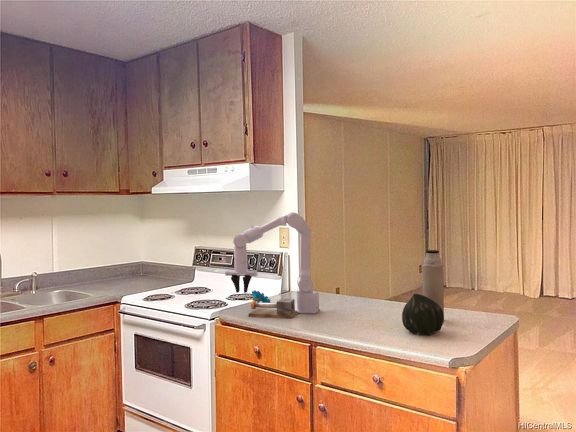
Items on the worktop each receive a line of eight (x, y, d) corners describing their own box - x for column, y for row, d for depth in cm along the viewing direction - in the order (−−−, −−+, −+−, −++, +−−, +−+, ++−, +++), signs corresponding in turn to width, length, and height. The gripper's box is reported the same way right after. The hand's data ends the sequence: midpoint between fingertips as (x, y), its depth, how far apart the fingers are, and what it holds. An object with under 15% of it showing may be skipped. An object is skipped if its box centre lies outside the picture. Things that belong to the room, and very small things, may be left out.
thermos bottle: (425, 317, 194) (424, 249, 192) (446, 319, 189) (445, 249, 188) (420, 321, 187) (419, 251, 186) (441, 323, 183) (440, 251, 182)
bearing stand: (297, 313, 205) (297, 298, 205) (292, 318, 197) (291, 302, 197) (255, 311, 211) (255, 297, 211) (248, 316, 202) (247, 301, 202)
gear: (275, 302, 222) (261, 289, 218) (268, 312, 219) (254, 299, 215) (261, 301, 230) (248, 289, 227) (255, 311, 228) (241, 299, 224)
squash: (457, 317, 171) (430, 284, 177) (440, 328, 160) (411, 292, 165) (430, 337, 178) (405, 305, 184) (412, 349, 167) (386, 314, 173)
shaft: (282, 309, 204) (282, 300, 204) (280, 311, 201) (280, 302, 201) (253, 307, 208) (253, 299, 208) (251, 309, 205) (250, 301, 204)
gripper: (221, 262, 205) (222, 293, 206) (253, 262, 201) (254, 294, 202) (228, 260, 212) (229, 290, 212) (258, 260, 208) (259, 291, 208)
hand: (241, 292), depth 207 cm, fingers open, 3 cm apart
